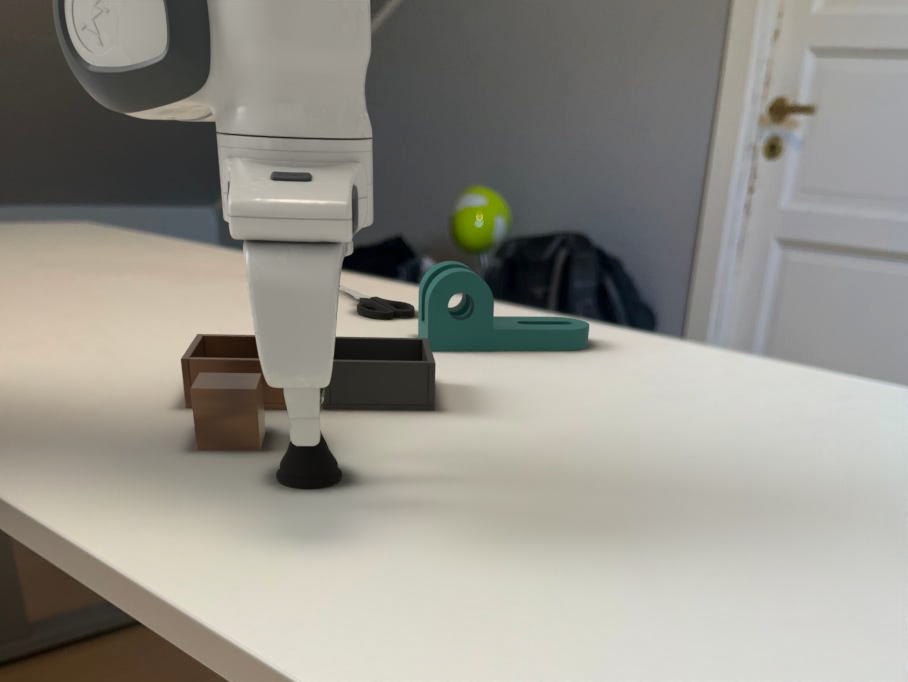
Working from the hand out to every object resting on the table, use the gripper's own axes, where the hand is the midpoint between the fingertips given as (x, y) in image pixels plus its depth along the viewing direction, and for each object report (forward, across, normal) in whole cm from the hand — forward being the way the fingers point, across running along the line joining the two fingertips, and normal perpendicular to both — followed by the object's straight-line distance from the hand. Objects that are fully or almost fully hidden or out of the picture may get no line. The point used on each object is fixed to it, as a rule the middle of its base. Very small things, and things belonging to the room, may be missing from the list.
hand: (309, 421), depth 64 cm
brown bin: (+4, -21, -6) cm, 22 cm away
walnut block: (+4, -8, -6) cm, 11 cm away
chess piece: (+4, 0, 0) cm, 4 cm away
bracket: (+4, -42, +19) cm, 46 cm away
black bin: (+4, -21, +5) cm, 22 cm away
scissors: (+4, -63, +4) cm, 63 cm away
